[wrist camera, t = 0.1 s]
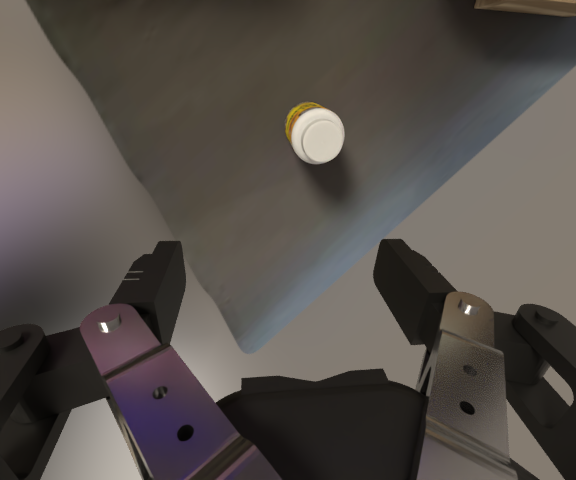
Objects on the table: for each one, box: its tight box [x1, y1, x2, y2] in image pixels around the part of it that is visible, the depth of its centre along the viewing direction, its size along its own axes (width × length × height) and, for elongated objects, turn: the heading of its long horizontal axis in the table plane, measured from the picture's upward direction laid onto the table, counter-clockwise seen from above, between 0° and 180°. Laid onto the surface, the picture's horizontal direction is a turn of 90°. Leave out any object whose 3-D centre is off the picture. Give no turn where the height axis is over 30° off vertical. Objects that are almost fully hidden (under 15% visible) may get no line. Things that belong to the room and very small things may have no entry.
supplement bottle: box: [285, 102, 345, 164], centre depth 34 cm, size 6×6×10 cm
